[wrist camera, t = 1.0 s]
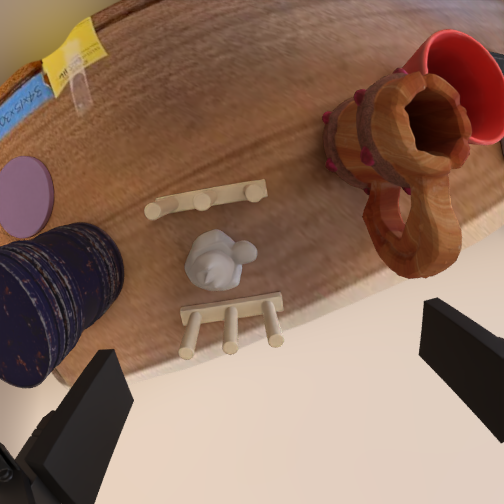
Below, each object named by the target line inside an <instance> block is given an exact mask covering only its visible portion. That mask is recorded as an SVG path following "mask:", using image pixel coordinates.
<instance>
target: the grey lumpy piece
mask: <svg viewBox="0 0 504 504" xmlns="http://www.w3.org/2000/svg"><path fill="white" fill-rule="evenodd" d="M256 257H257V249H256V247H255V246H254V245H253V244H252V243H250V242H248V241H244V240H242V241H238V242H236V243H235V242H234V241H233V240H232V239H231V238H230V237H229V236H227V235H226V234H225V233H224V232H222V231H221V230H218V229H214V230H211V231H208V232H206V233H203V234H201V235H200V236H199V237H197V239H196V240H195V241H194V243H193V245H192V248H191V250H190V252H189V254H188V257H187V260H186V262H185V267H184V268H185V272H186V274H187V276H188V277H189V279H190V281H191V282H192V283H193V284H194V285H196V286H198V287H200V288H203V289H206V290H209V291H225V290H228V289H231V288H234V287H236V286H237V285H238V284H239V282H240V276H241V272H242V264H246V263H249V262H252V261H254V260H255V259H256Z"/></svg>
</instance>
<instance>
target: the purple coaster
mask: <svg viewBox="0 0 504 504" xmlns="http://www.w3.org/2000/svg"><path fill="white" fill-rule="evenodd" d="M53 202H54V189H53V183H52V179H51V176H50V174H49V172H48V170H47V168H46V167H45V165H44V164H43V163H42V162H41V161H39V160H38V159H36V158H34V157H30V156H20V157H16V158H14V159H12V160H11V161H9V162H8V163H7V164H6V165H5V166H4V168H3V169H2V171H1V172H0V223H1V225H2V227H3V228H4V229H5V230H6V231H7V232H8V233H9V234H10V235H12V236H14V237H17V238H27V237H30V236H33V235H35V234H37V233H38V232H40V231H41V230H42V229H43V228H44V226H45V225H46V223H47V222H48V220H49V218H50V215H51V212H52V208H53Z"/></svg>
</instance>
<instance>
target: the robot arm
mask: <svg viewBox="0 0 504 504" xmlns="http://www.w3.org/2000/svg"><path fill="white" fill-rule="evenodd" d="M419 356H420V357H421V358H422V359H423V360H424V361H425V362H426V363H427V364H428V365H429V366H430V367H431V368H432V369H433V370H434V371H435V372H436V373H437V374H438V375H439V376H440V377H441V378H442V379H443V380H444V381H445V383H447V385H448V386H449V387H450V388H451V389H452V390H453V391H454V392H455V393H456V394H457V395H458V396H459V397H460V398H461V400H462V401H463V402H464V403H465V404H466V405H467V406H468V407H469V408H470V409H471V410H472V412H473V413H474V414H475V415H476V416H477V417H478V418H479V419H480V420H481V421H482V423H484V425H485V426H486V427H487V428H488V429H489V430H490V431H491V433H492V434H493V435H494V436H495V437H496V438H497V439H498V440H499V441H500V443H503V442H504V339H503V338H500V337H496V336H495V335H494V334H492V333H491V332H489V331H488V330H486V329H485V328H483V327H482V326H480V325H479V324H477V323H476V322H474V321H473V320H471V319H470V318H468V317H467V316H465V315H464V314H462V313H461V312H459V311H458V310H456V309H455V308H453V307H451V306H450V305H448V304H447V303H445V302H444V301H442V300H441V299H439V298H434V299H430V300H426V301H424V308H423V320H422V331H421V341H420V349H419ZM133 402H134V399H133V397H132V395H131V392H130V390H129V388H128V385H127V382H126V380H125V377H124V375H123V372H122V369H121V367H120V364H119V361H118V358H117V356H116V353H115V350H114V349H106V350H98V352H97V353H96V354H95V356H94V357H93V358H92V360H91V361H90V362H89V364H88V365H87V367H86V368H85V369H84V371H83V372H82V373H81V375H80V376H79V378H78V379H77V380H76V382H75V383H74V385H73V386H72V388H71V389H70V390H69V392H68V393H67V395H66V396H65V398H64V399H63V401H62V402H61V404H60V405H59V406H58V408H57V409H56V411H54V410H52V411H51V412H50V413H48V414H47V415H46V416H45V417H43V418H42V420H41V421H40V423H39V424H38V426H37V429H35V430H34V431H33V433H32V436H30V437H29V439H28V440H27V442H26V443H25V445H24V446H23V448H22V450H21V451H20V452H19V454H18V456H17V457H16V459H15V460H14V458H13V457H12V456H11V455H10V453H9V452H8V450H7V449H6V448H5V446H4V445H3V444H1V443H0V504H94V503H95V500H96V497H97V495H98V492H99V489H100V486H101V484H102V481H103V478H104V475H105V473H106V470H107V467H108V465H109V462H110V459H111V457H112V454H113V452H114V449H115V447H116V444H117V441H118V439H119V436H120V434H121V431H122V429H123V426H124V423H125V421H126V419H127V416H128V414H129V411H130V409H131V407H132V404H133Z"/></svg>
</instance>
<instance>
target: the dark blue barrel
mask: <svg viewBox="0 0 504 504" xmlns="http://www.w3.org/2000/svg"><path fill="white" fill-rule="evenodd" d="M123 282H124V265H123V260H122V257H121V254H120V252H119V250H118V248H117V246H116V244H115V243H114V241H113V240H112V239H111V238H110V236H109V235H108V234H107V233H105V232H104V231H103V230H102V229H100V228H98V227H97V226H94V225H92V224H88V223H73V224H69V225H64V226H59V227H56V228H53V229H51V230H49V231H47V232H45V233H42V234H40V235H38V236H37V237H36V238H34V239H32V240H23V241H15V242H12V243H10V244H7V245H3V246H0V379H1V380H3V381H4V382H6V383H8V384H10V385H13V386H16V387H20V388H33V387H36V386H38V385H40V384H41V383H42V382H43V381H44V380H45V379H46V377H47V376H48V375H49V374H50V373H51V371H52V370H53V369H54V368H55V367H56V366H58V365H59V364H60V363H61V362H62V361H63V359H64V358H65V357H66V356H67V355H68V354H69V352H70V351H71V350H72V349H73V348H74V347H75V345H76V344H77V342H78V340H79V338H80V336H81V333H82V332H83V331H84V329H87V328H88V327H90V326H91V325H93V324H94V322H96V321H97V320H98V319H99V318H100V317H101V316H102V315H103V314H104V313H105V312H106V311H107V310H108V309H109V307H110V305H111V304H112V303H113V302H114V301H115V300H116V298H117V297H118V295H119V294H120V292H121V289H122V286H123Z"/></svg>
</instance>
